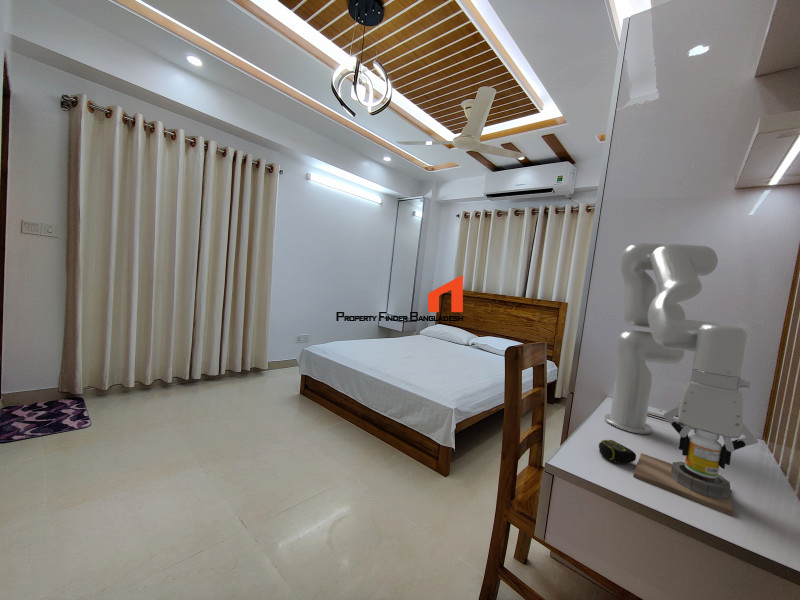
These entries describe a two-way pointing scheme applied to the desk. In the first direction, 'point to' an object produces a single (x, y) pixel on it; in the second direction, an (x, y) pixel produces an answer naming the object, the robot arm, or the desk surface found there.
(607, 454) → the tape measure
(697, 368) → the robot arm
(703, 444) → the supplement bottle
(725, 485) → the holder
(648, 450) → the desk surface
